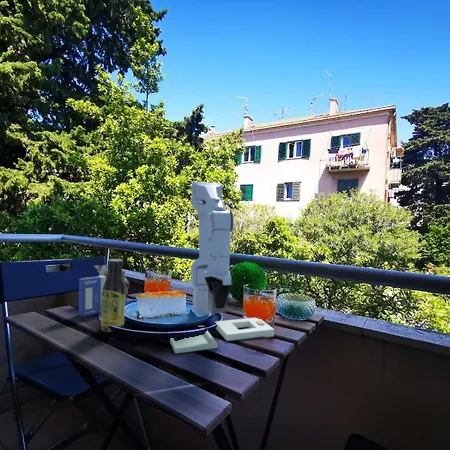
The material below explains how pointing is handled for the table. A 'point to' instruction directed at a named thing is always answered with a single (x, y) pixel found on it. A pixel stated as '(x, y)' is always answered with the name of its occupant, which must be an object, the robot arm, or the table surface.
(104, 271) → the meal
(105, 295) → the sauce bottle
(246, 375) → the table surface
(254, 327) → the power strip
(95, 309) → the walkman
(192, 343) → the tray
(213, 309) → the plug
